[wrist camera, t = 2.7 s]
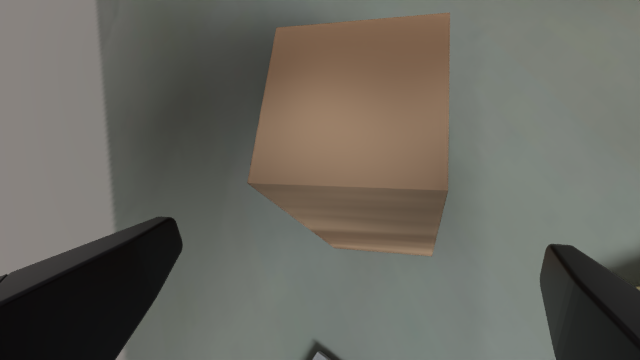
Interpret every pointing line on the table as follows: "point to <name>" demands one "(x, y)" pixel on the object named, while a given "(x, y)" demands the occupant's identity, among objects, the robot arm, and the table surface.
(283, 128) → the walnut block
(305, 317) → the table surface
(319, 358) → the card
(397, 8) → the table surface
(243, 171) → the table surface
